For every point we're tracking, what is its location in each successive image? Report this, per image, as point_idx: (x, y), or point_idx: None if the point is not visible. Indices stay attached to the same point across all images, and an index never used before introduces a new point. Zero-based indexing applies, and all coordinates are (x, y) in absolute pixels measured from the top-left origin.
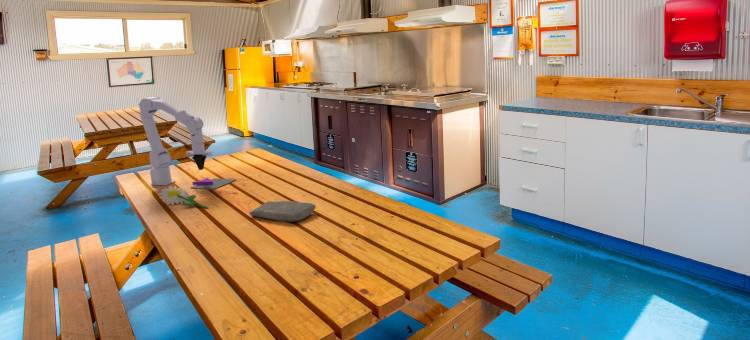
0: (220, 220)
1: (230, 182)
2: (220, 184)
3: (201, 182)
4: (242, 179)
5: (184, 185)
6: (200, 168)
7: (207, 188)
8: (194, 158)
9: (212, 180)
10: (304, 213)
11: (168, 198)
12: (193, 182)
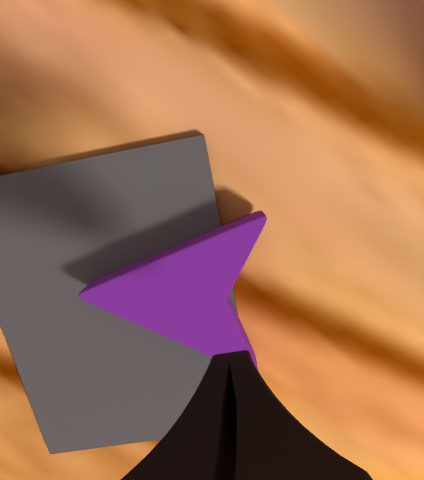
0: None
1: (27, 385)
2: (31, 310)
3: (175, 249)
4: (31, 473)
5: (362, 193)
6: (210, 365)
7: (18, 176)
8: (280, 478)
9: None
10: None
11: None
12: (253, 218)
